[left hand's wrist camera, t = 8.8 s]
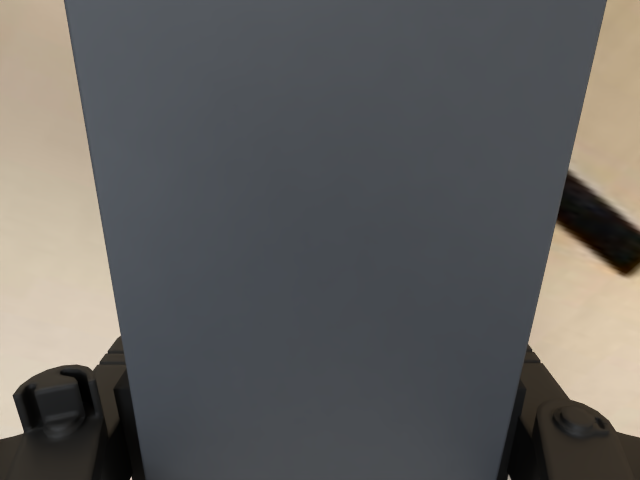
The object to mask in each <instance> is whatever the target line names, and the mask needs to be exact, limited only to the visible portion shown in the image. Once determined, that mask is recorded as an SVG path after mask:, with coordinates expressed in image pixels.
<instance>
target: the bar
mask: <svg viewBox="0 0 640 480" xmlns="http://www.w3.org/2000/svg"><path fill="white" fill-rule="evenodd" d="M606 2H607V0H64V3H65V9H66V15H67V21H68V27H69V32H70V38H71V44H72V50H73V56H74V62H75V68H76V74H77V80H78V85H79V91H80V97H81V103H82V109H83V115H84V121H85V127H86V133H87V138H88V144H89V150H90V156H91V162H92V168H93V174H94V180H95V185H96V191H97V197H98V203H99V209H100V215H101V221H102V227H103V233H104V238H105V244H106V250H107V256H108V262H109V268H110V274H111V280H112V286H113V291H114V297H115V303H116V309H117V315H118V321H119V327H120V333H121V338H122V344H123V350H124V356H125V362H126V368H127V374H128V380H129V386H130V391H131V397H132V403H133V409H134V415H135V421H136V427H137V433H138V439H139V444H140V450H141V456H142V462H143V468H144V474H145V480H497V476H498V471H499V467H500V463H501V458H502V454H503V450H504V445H505V441H506V437H507V432H508V428H509V424H510V419H511V415H512V411H513V406H514V402H515V398H516V393H517V389H518V385H519V380H520V376H521V372H522V367H523V363H524V358H525V354H526V350H527V345H528V341H529V337H530V332H531V328H532V324H533V319H534V315H535V311H536V306H537V302H538V298H539V293H540V289H541V285H542V280H543V276H544V272H545V267H546V263H547V259H548V254H549V250H550V246H551V241H552V237H553V232H554V228H555V224H556V219H557V215H558V211H559V206H560V202H561V198H562V193H563V189H564V185H565V180H566V176H567V172H568V167H569V163H570V159H571V154H572V150H573V146H574V141H575V137H576V133H577V128H578V124H579V120H580V115H581V111H582V107H583V102H584V98H585V93H586V89H587V85H588V80H589V76H590V72H591V67H592V63H593V59H594V54H595V50H596V46H597V41H598V37H599V33H600V28H601V24H602V20H603V15H604V11H605V7H606Z"/></svg>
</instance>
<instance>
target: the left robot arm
mask: <svg viewBox="0 0 640 480" xmlns="http://www.w3.org/2000/svg"><path fill="white" fill-rule="evenodd" d="M13 398H14V401H15V404H16V408H17V411H18V414H19V417H20V420H21V423H22V426H23V430H24V433H23V434H20V435H17V436H13V437H9V438H5V439H0V480H130V478H131V476H132V480H145V474H144V468H143V462H142V456H141V450H140V444H139V439H138V433H137V427H136V421H135V415H134V409H133V403H132V397H131V391H130V386H129V380H128V374H127V368H126V362H125V356H124V350H123V344H122V338H121V336H120V337H118V338H117V340H116V341H115V342H114V344H113V345H112V346H111V348H110V349H109V350H108V354H105V356H104V357H103V358H102V360H101V361H100V364H99V365H97V366H96V368H95V369H94V370H93V371H92V370H91V369H90V368H88V367H86V366H81V365H64V366H60V367H56V368H52V369H48V370H46V371H44V372H42V373H39V374H37V375H35V376H33V377H31V378H30V379H29V380H27V381H26V382H25V383H23V384H22V385H20V387H19V388H18V389H17V390H16V392H15V393H14V394H13ZM508 474H509V476H510V479H511V480H640V438H639V437H635V436H630V435H626V434H623V433H619V432H616V431H615V429H614V428H613V426H612V425H611V423H610V422H609V420H607V419H606V418H605V417H604V416H603V415H601V414H600V413H599V412H598V411H596V410H594V409H592V408H590V407H588V406H587V405H585V404H582V403H579V402H576V401H572V400H570V399H569V398H568V396H567V395H566V394H565V392H564V391H563V390H562V388H561V387H560V386H559V384H558V383H557V382H556V380H555V379H554V378H553V377H552V375H551V374H550V373H549V371H548V370H547V369H546V367H545V366H544V365H543V363H540V359H539V358H538V357H537V355H536V354H535V353H534V352H532V349H531V347H530V346H529V345H527V350H526V354H525V358H524V363H523V367H522V372H521V376H520V380H519V385H518V389H517V393H516V398H515V402H514V406H513V411H512V415H511V419H510V424H509V428H508V432H507V437H506V441H505V445H504V450H503V454H502V458H501V463H500V467H499V471H498V476H497V480H507V479H508Z"/></svg>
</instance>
